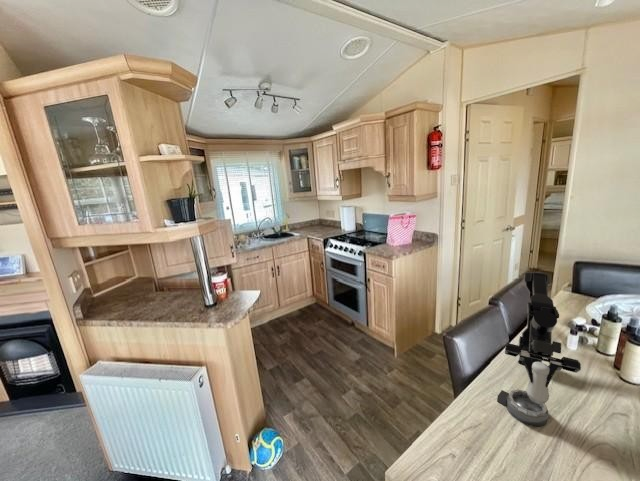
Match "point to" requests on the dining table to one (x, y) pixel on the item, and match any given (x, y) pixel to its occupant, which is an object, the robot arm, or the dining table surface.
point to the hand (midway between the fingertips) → (538, 384)
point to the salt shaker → (538, 383)
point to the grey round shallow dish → (524, 408)
